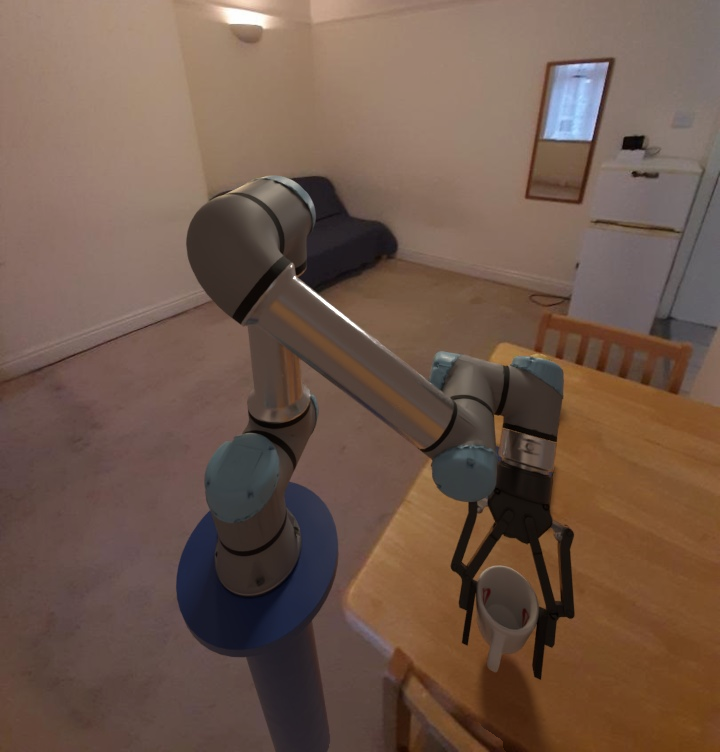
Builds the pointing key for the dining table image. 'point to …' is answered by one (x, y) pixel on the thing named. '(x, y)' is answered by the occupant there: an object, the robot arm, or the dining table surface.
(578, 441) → the dining table surface
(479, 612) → the cup
